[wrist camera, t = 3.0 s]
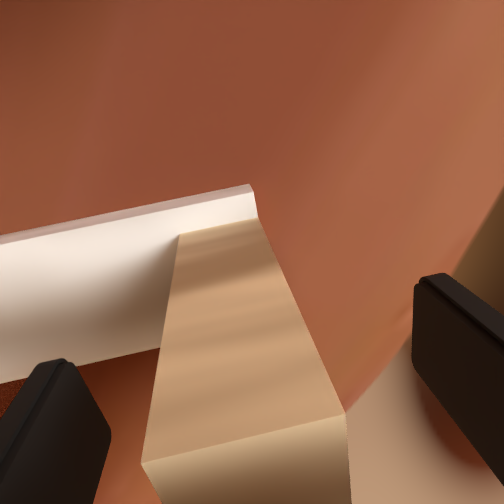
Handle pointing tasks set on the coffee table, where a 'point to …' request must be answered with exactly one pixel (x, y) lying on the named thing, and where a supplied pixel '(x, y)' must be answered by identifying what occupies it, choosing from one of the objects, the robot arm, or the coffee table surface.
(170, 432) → the white-handled mallet
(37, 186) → the coffee table surface
